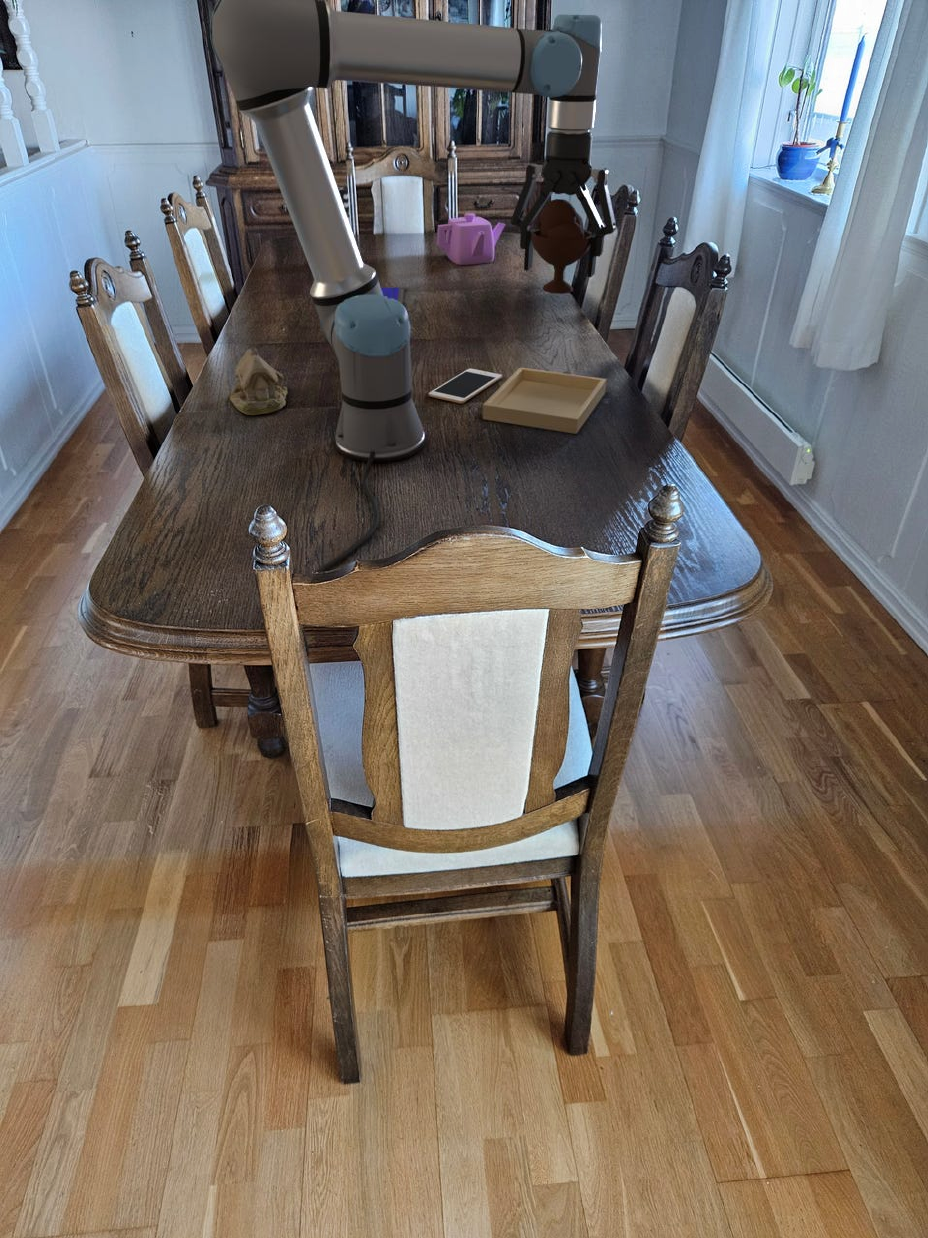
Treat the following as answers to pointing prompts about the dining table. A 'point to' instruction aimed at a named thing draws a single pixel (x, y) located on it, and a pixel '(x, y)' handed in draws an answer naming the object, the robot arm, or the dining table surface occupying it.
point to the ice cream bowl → (560, 241)
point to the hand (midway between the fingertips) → (559, 271)
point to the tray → (545, 400)
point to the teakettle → (469, 239)
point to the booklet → (393, 293)
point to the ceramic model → (257, 386)
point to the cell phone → (465, 385)
